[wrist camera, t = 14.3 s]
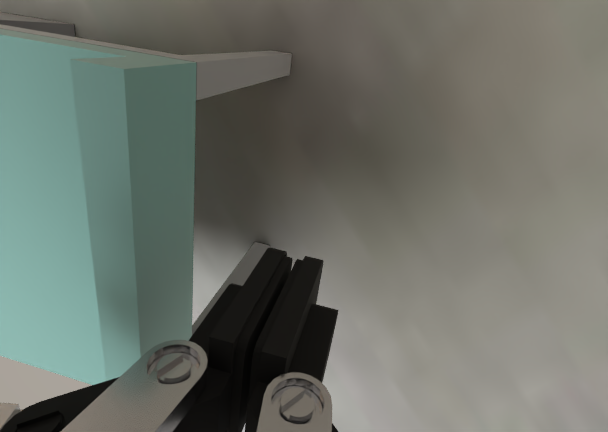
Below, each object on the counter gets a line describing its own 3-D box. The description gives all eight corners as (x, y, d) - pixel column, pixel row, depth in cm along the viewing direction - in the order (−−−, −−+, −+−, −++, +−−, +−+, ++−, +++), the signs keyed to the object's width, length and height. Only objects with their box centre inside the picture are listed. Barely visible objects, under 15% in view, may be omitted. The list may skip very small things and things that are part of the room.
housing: (-99, -10, 23) (-422, -45, 14) (292, 53, 19) (196, 62, 10) (-48, 181, 28) (-259, 246, 19) (268, 259, 24) (191, 383, 16)
